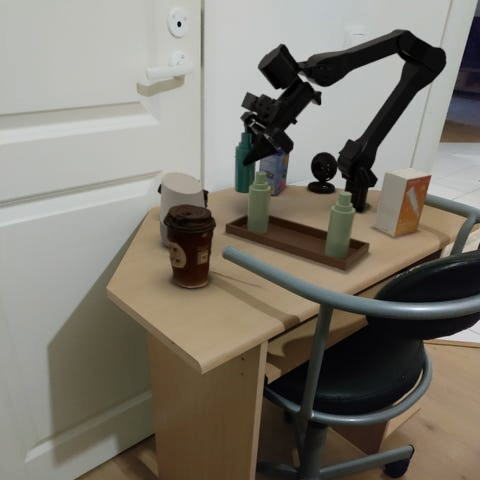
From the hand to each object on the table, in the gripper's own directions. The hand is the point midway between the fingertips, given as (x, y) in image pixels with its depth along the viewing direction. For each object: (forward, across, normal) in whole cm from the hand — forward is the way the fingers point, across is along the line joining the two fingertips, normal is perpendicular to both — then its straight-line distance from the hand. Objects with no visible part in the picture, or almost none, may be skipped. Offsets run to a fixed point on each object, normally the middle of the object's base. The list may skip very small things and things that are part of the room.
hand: (239, 161), depth 107 cm
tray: (+5, +18, +13) cm, 23 cm away
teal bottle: (+4, 0, +6) cm, 7 cm away
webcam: (-11, -13, +30) cm, 34 cm away
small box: (-13, +17, +32) cm, 39 cm away
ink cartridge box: (-2, -16, +20) cm, 26 cm away
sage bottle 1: (+8, +10, +9) cm, 16 cm away
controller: (+18, +1, -1) cm, 18 cm away
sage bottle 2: (0, +26, +17) cm, 31 cm away
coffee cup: (+22, +28, -5) cm, 36 cm away
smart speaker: (+20, +13, -3) cm, 25 cm away
